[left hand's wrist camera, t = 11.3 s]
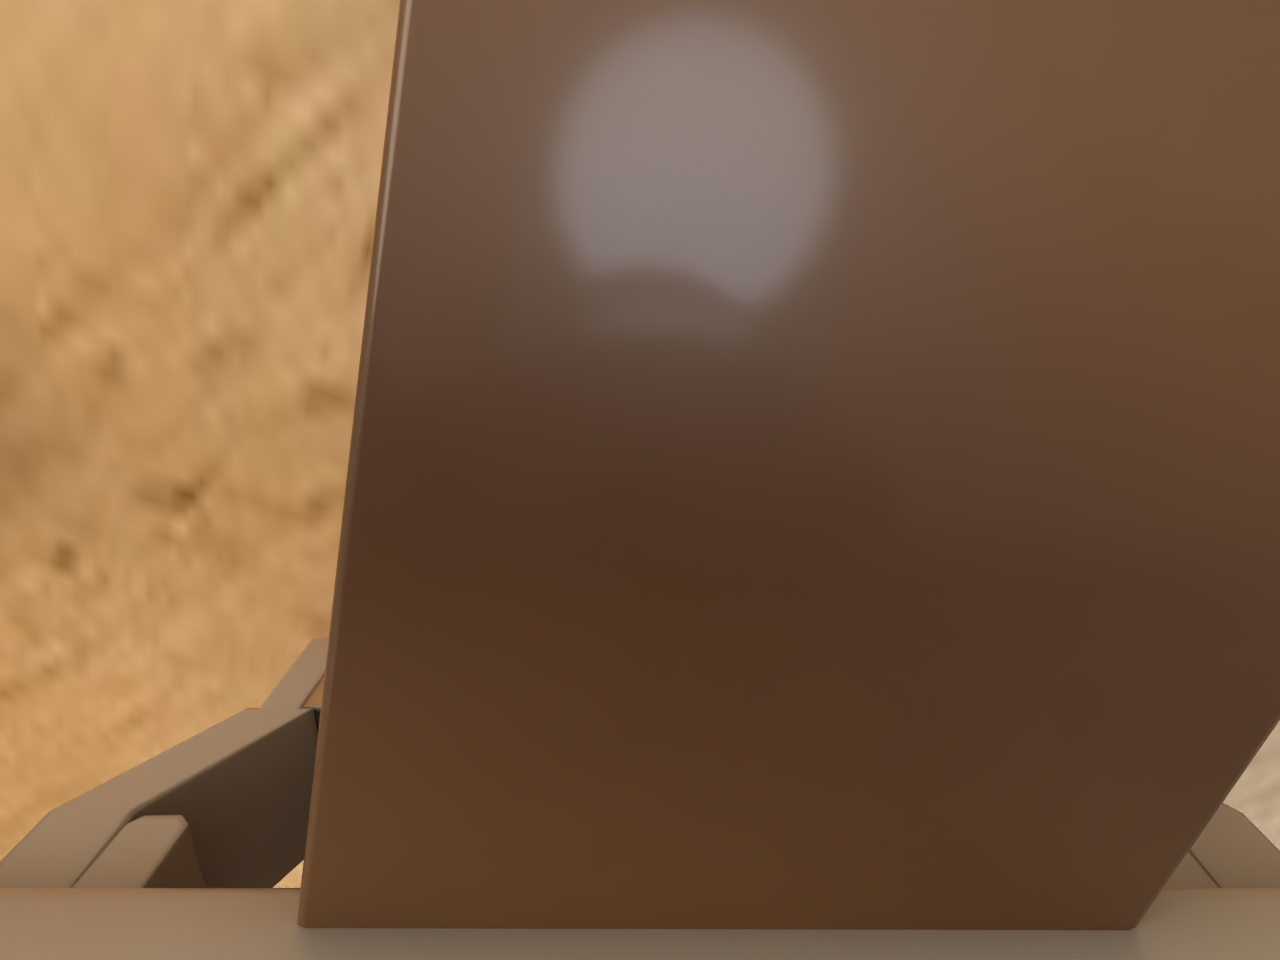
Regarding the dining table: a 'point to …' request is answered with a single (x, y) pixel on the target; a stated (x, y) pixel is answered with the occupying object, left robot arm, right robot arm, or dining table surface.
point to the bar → (806, 466)
